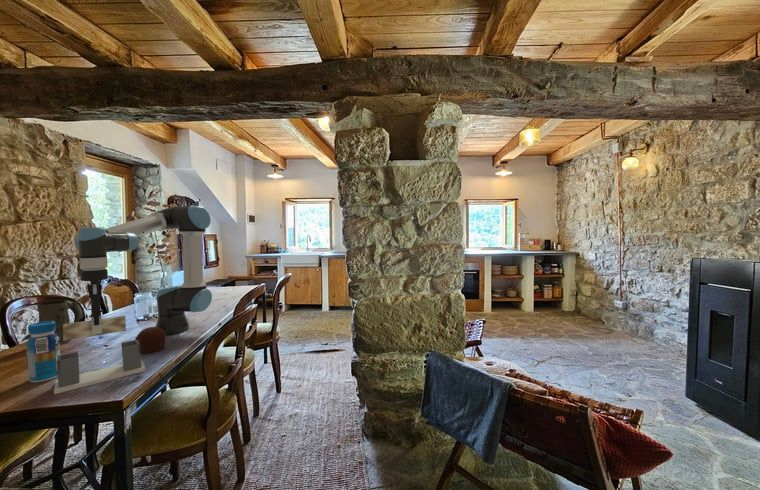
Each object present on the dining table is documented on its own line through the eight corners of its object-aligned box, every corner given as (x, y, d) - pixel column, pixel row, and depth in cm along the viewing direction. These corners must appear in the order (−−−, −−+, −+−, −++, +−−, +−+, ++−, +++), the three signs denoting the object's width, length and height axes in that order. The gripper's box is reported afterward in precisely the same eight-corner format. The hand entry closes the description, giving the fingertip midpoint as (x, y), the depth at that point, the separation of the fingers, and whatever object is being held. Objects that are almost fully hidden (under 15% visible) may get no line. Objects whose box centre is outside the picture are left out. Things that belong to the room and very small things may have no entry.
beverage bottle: (21, 383, 111) (16, 327, 110) (46, 372, 119) (42, 320, 118) (45, 383, 111) (41, 326, 110) (69, 372, 119) (65, 319, 118)
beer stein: (48, 348, 144) (48, 304, 144) (30, 347, 146) (30, 303, 146) (86, 339, 159) (86, 298, 159) (69, 337, 161) (69, 298, 161)
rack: (142, 362, 127) (140, 337, 126) (145, 370, 119) (143, 344, 119) (56, 383, 111) (54, 355, 110) (54, 394, 103) (51, 363, 103)
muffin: (132, 351, 139) (131, 328, 138) (161, 343, 148) (160, 322, 147) (141, 357, 132) (140, 334, 131) (171, 349, 141) (170, 327, 140)
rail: (125, 328, 125) (124, 315, 125) (125, 330, 122) (125, 317, 122) (64, 337, 114) (63, 324, 113) (63, 340, 111) (62, 326, 110)
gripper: (81, 268, 121) (84, 329, 122) (78, 272, 108) (82, 340, 109) (107, 266, 126) (109, 325, 127) (107, 270, 113) (111, 335, 114)
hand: (97, 332), depth 118 cm, fingers closed on rail, 4 cm apart
